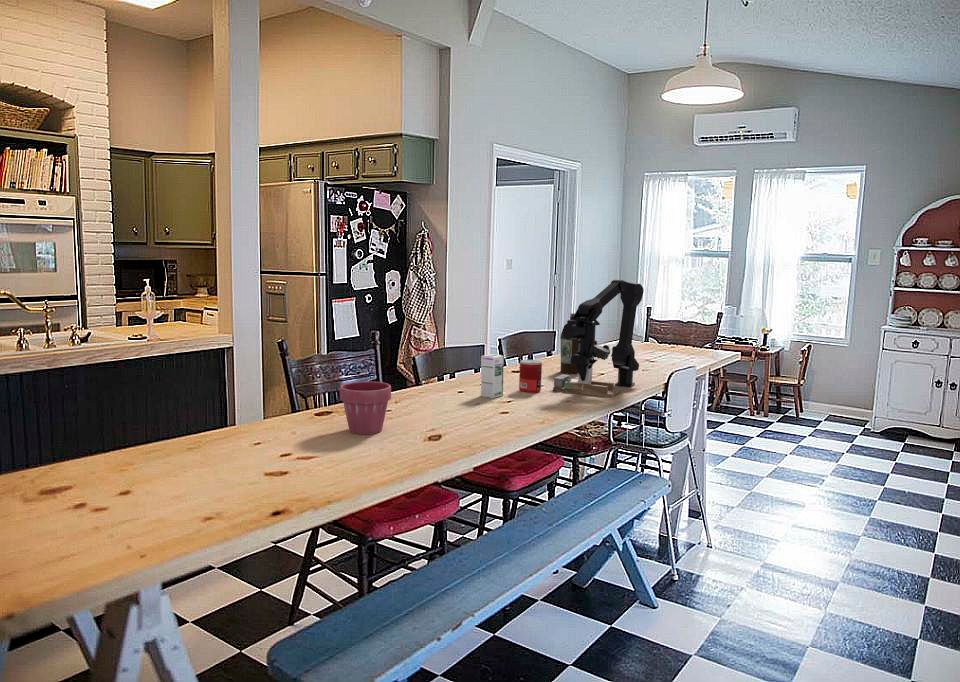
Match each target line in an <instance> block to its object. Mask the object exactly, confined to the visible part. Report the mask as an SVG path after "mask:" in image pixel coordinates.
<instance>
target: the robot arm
mask: <svg viewBox="0 0 960 682" xmlns="http://www.w3.org/2000/svg"><path fill="white" fill-rule="evenodd" d="M644 290H645V289H644V287H643V286H642V284H641V283H636V282H627V281H625V280H623V279H613V280H611V281H610V283H609V284H608V285H607V286H606V287H604V289H603V290H602V291H600V292H599V293H598V294H597V295H595V297H592V298H591V299H586V300H585V301H583V302H581V303H580V304H579V305H578V307H577V309H576V311H575V312H574V313H575V315H574V317H573V318H572V320H570V319H567V320H566V323H565V325H564V326H563V327H562V330H563V335H564V337H565V338H566V339H578V338H579V340H578V341H577V343H579V351H577V354H574V355H573V356H571V358H570V362H571V363H574V364H575V366H576V368H577V370H578V372H579V375H580V377H581V380H582V381H585V377H586V373H587V368H592V369H593V366H594V364H596V363H597V362H598V361H599V359H600V360H603V361H606V360H608V359H609V356H610V357H611V362H612V366H613V369H618V370H617V382H614V386H623V387H633V386H635V385H636V382H633V379H634V372H637V371H639V369H640V368H639V367H640V364H639V362H638V360H637V359H636V357H635V355H636V353H635V352H636V351H635V349H634V346H633V344H632V343H633V336H634V330H635V320H636V314H637V308H638V306H639V305H640V303H641V302H642V301H643V296H644ZM619 294H620V296H619V297H620V300H621V303H622V314H621V320H620V321H621V322H620V329H619V336H618V342H617V344H616V345H614V346H612V348H611V349H610V346H609V345H607V344H604V345H603V346H602V345H598V341H597V340H596V328H597V326H600V325H601V323H600V322H599V321H598V320H597V319H598V318H599V317H600V315H602V313H603V310H604V309H603V308H604V307H606V306H607V305H608V304H609V302H611V301H612V300H613V299H615V297H617V296H618V295H619ZM610 354H611V355H610ZM595 358H597V359H595Z"/></svg>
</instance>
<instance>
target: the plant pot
mask: <svg viewBox="0 0 960 682" xmlns="http://www.w3.org/2000/svg"><path fill="white" fill-rule="evenodd" d="M339 399H340V401H341V402H343V408H344V412H345V417H346V421H347V422H346V423H347V425H348V430H349V432H350V433H352V434H357V435H371V434H372V435H374V434H377V433H380V432H382V430H383V427H384V422H385V419H386V418H385V417H386V413H387V409H388V408H387V407H388V403H389V401H390V400H392V386H391V384H389V383H386V382H383V381H382V382H381V381H354V382H347V383H344V384H342V385H340V387H339Z"/></svg>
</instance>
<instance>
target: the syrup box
mask: <svg viewBox="0 0 960 682" xmlns="http://www.w3.org/2000/svg"><path fill="white" fill-rule="evenodd" d="M480 357H481V358H480V359H481V361H480V362H481V363H480V366H481V367H480V396H481V397H485V398H488V399H489V398H491V399H495V398H499V397H503V396H504V355H502V354H498V353H497V354H495V353H494V354H491V353H490V354H486V355H485V354H484V355H481V356H480Z"/></svg>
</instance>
